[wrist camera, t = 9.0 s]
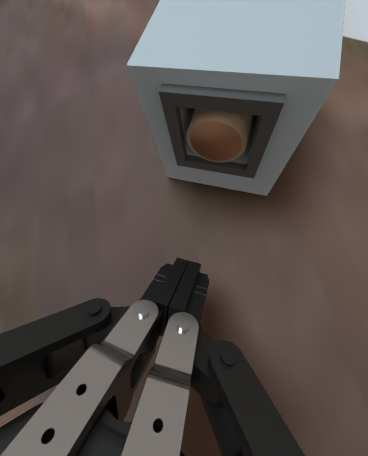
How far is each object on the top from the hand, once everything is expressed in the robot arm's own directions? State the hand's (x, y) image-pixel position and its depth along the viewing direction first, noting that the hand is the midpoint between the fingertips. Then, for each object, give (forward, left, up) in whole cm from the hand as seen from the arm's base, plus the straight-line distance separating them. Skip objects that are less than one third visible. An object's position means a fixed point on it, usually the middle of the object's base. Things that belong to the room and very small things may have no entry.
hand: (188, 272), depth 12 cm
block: (+15, +6, -5) cm, 17 cm away
